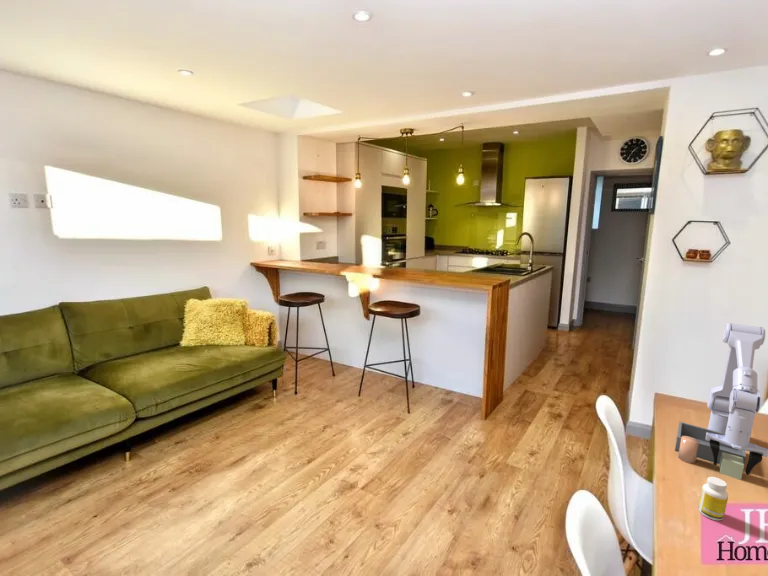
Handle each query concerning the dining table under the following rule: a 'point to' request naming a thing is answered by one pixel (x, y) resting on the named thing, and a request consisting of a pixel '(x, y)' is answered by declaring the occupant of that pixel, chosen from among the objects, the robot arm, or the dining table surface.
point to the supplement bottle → (713, 499)
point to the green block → (731, 465)
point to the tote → (705, 442)
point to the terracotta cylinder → (688, 449)
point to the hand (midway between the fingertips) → (730, 468)
